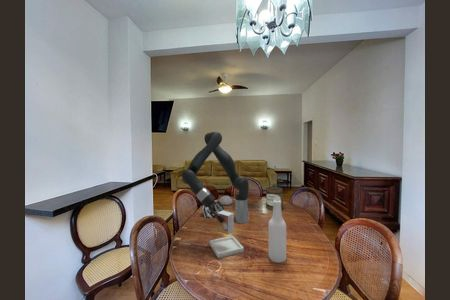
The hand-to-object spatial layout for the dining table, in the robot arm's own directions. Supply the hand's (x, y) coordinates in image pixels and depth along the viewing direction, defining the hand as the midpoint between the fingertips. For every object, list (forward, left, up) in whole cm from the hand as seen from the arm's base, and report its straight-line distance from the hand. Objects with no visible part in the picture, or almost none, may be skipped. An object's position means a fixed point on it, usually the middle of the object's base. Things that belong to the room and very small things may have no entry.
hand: (224, 219), depth 110 cm
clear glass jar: (-66, -46, -17) cm, 82 cm away
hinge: (-7, -55, -17) cm, 58 cm away
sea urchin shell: (-30, -76, -17) cm, 83 cm away
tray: (0, 0, -17) cm, 17 cm away
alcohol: (-21, +19, -17) cm, 33 cm away
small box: (0, 0, -7) cm, 7 cm away
